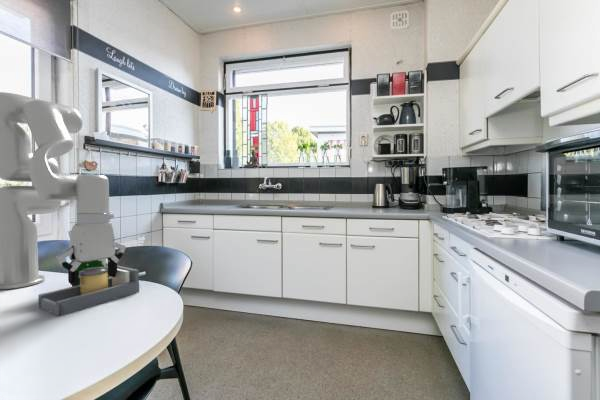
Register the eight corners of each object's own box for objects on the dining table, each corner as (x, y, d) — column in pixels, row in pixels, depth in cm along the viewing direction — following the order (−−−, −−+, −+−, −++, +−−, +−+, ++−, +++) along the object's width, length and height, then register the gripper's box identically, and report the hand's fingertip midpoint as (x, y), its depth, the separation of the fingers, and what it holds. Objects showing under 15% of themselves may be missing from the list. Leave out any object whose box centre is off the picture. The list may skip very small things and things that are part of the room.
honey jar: (75, 299, 84) (74, 271, 84) (101, 292, 90) (100, 265, 90) (88, 304, 81) (87, 274, 81) (113, 296, 87) (112, 268, 86)
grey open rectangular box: (38, 307, 79) (37, 282, 79) (118, 285, 96) (117, 265, 96) (58, 315, 73) (57, 288, 73) (139, 291, 90) (138, 269, 90)
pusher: (112, 288, 93) (111, 268, 93) (137, 281, 100) (137, 263, 100) (126, 292, 89) (125, 272, 89) (152, 284, 96) (151, 265, 96)
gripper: (117, 216, 94) (118, 271, 95) (49, 221, 79) (50, 286, 80) (131, 217, 90) (132, 275, 91) (62, 223, 75) (64, 291, 76)
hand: (94, 280), depth 85 cm, fingers open, 9 cm apart
